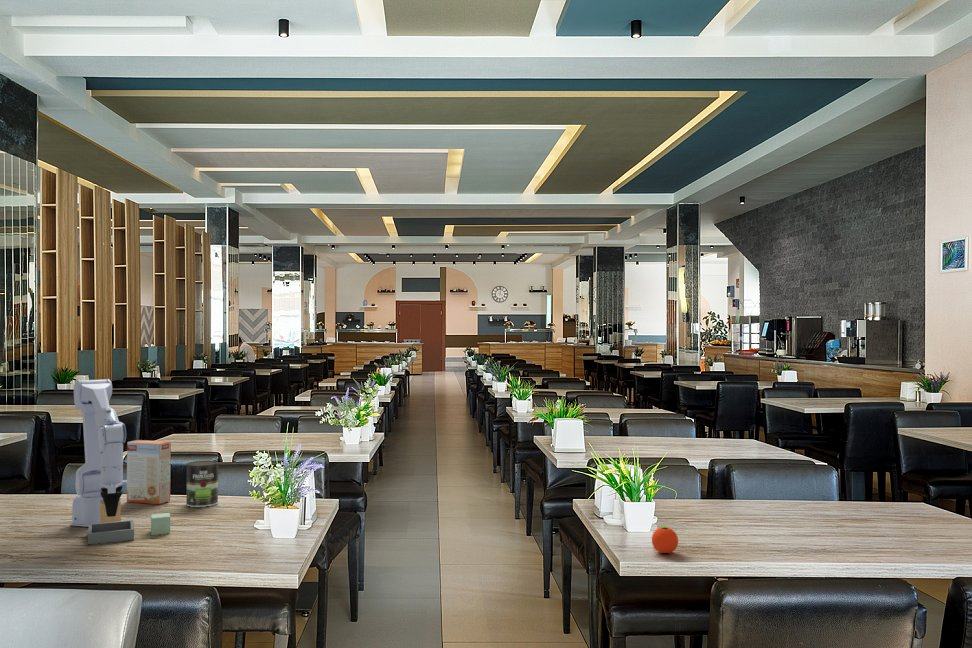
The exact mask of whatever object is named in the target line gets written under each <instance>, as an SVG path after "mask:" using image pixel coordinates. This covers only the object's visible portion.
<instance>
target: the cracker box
mask: <svg viewBox="0 0 972 648" xmlns="http://www.w3.org/2000/svg"><path fill="white" fill-rule="evenodd" d="M171 446H172V443H171V441H162V440H161V441H160V440H147V439H146V440H145V439H144V440H143V439H135V440H131V441H127V445H126V480H127V484H126V503H127V502H128V503H138V504H149V505H157V504H158V505H162V504H165V502H166V503H169V502H171V463H172V462H171V454H172V453H171V450H172V449H171V448H172V447H171ZM168 501H169V502H168Z"/></svg>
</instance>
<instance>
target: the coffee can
mask: <svg viewBox="0 0 972 648" xmlns="http://www.w3.org/2000/svg"><path fill="white" fill-rule="evenodd" d="M219 464H220V463H219V462H218V461H216V460H198V461H197V460H196V461H190V462H187V463H186V497H185V498H186V502H185V503H186V504H185V505H187V506H186V507H188V506H190V507H189V508H193V507H202V508H207V507H206V506H210V507H214V506H216V504H217V505H218V504H219ZM213 505H214V506H213Z"/></svg>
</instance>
